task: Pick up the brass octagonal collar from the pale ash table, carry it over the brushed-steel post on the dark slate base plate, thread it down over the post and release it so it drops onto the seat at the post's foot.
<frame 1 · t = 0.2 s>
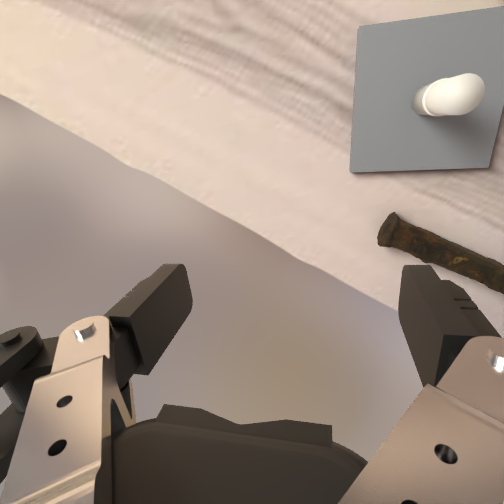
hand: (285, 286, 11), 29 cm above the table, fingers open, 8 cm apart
hand tool: (452, 247, 37), on the table
post base: (423, 100, 31), on the table
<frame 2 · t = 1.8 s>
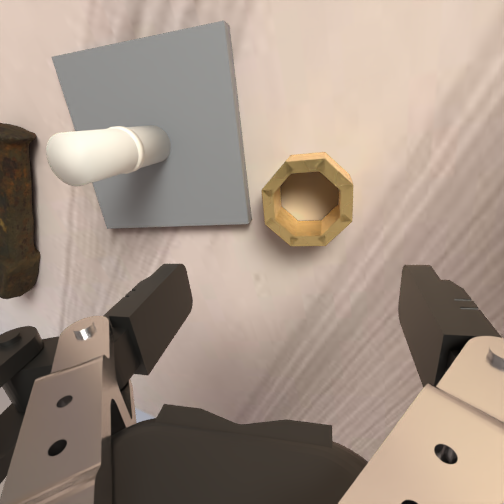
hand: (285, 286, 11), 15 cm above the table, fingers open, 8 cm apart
ring: (308, 193, 24), on the table
hand tool: (36, 217, 32), on the table
post base: (161, 142, 25), on the table
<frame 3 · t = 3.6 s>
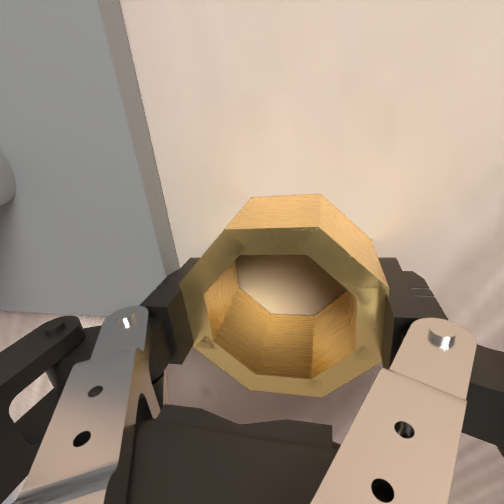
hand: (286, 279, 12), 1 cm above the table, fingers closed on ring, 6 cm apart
ring: (289, 269, 12), on the table, touching gripper
post base: (12, 166, 13), on the table
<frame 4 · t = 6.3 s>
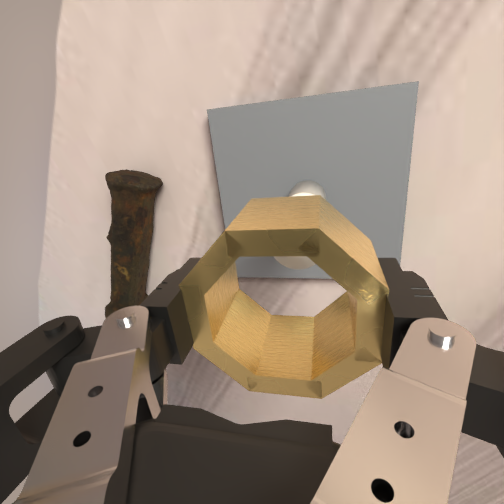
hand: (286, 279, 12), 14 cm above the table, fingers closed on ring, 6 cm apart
ring: (289, 270, 12), point 13 cm above the table, touching gripper
hand tool: (147, 260, 31), on the table
post base: (308, 194, 24), on the table
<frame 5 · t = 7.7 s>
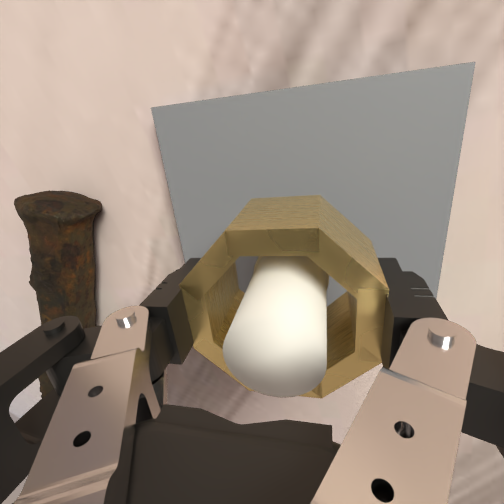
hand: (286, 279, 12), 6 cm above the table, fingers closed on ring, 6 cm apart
ring: (289, 270, 12), point 5 cm above the table, touching gripper
hand tool: (96, 303, 24), on the table
post base: (300, 228, 17), on the table
when the fingers open (5 cm above the table, at t = 9.0 s): ring drops 2 cm, resting on post base.
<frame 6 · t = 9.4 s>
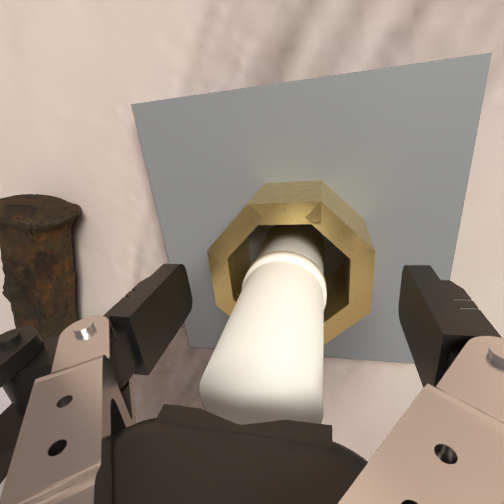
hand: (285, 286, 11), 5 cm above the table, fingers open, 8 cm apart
ring: (295, 245, 15), point 1 cm above the table, touching post base
hand tool: (79, 313, 22), on the table
post base: (296, 235, 16), on the table
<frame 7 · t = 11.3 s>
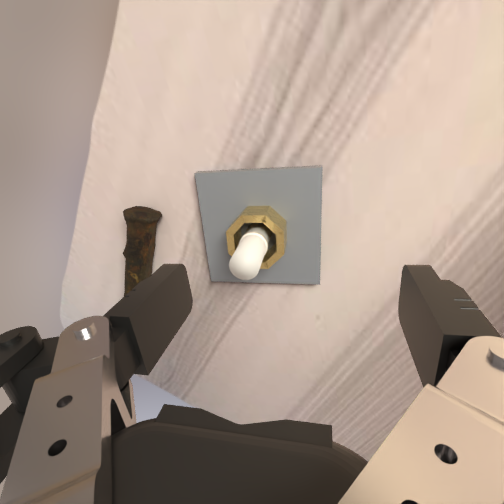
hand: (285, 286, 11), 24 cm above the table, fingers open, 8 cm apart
ring: (260, 231, 35), point 1 cm above the table, touching post base
hand tool: (150, 268, 42), on the table
post base: (261, 227, 36), on the table
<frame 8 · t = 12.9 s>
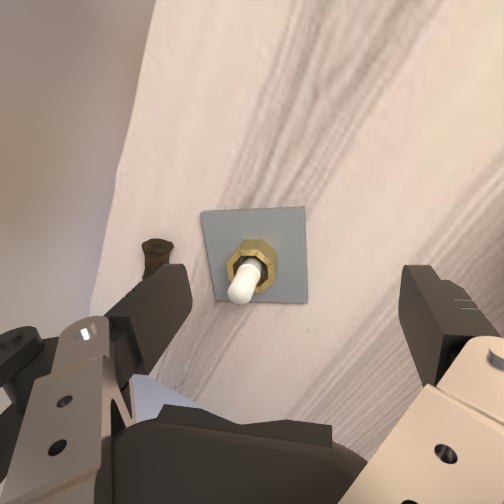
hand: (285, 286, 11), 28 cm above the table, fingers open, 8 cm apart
ring: (255, 259, 42), point 1 cm above the table, touching post base
hand tool: (165, 288, 49), on the table
post base: (257, 256, 43), on the table
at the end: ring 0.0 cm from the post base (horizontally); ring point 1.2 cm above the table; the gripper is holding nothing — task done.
